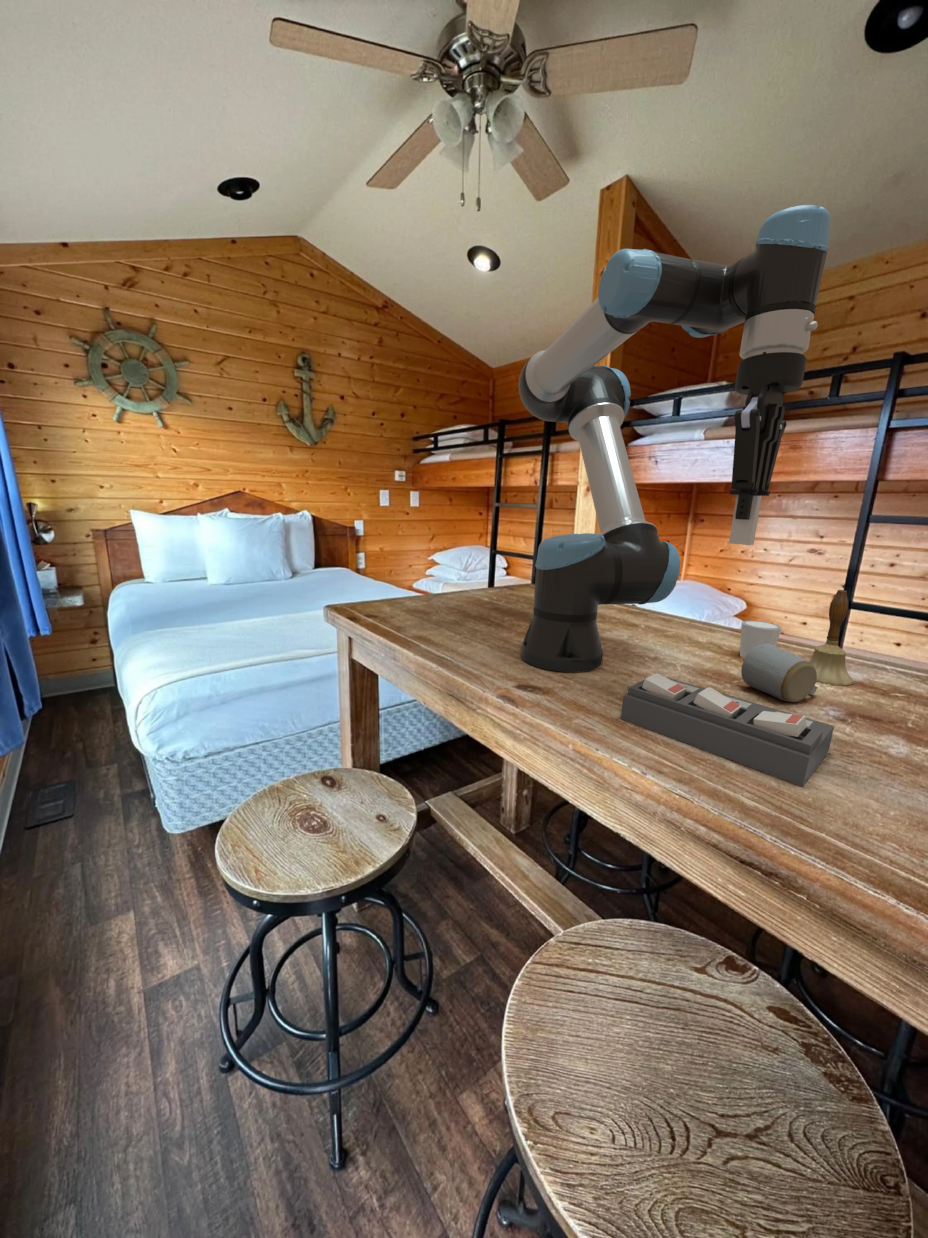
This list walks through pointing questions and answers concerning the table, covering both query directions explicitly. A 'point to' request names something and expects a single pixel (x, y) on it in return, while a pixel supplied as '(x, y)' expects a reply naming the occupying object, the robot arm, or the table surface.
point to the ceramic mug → (779, 673)
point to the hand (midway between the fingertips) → (741, 543)
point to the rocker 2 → (781, 723)
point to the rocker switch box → (730, 732)
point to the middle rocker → (717, 703)
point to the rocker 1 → (664, 687)
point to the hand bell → (833, 647)
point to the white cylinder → (757, 635)
